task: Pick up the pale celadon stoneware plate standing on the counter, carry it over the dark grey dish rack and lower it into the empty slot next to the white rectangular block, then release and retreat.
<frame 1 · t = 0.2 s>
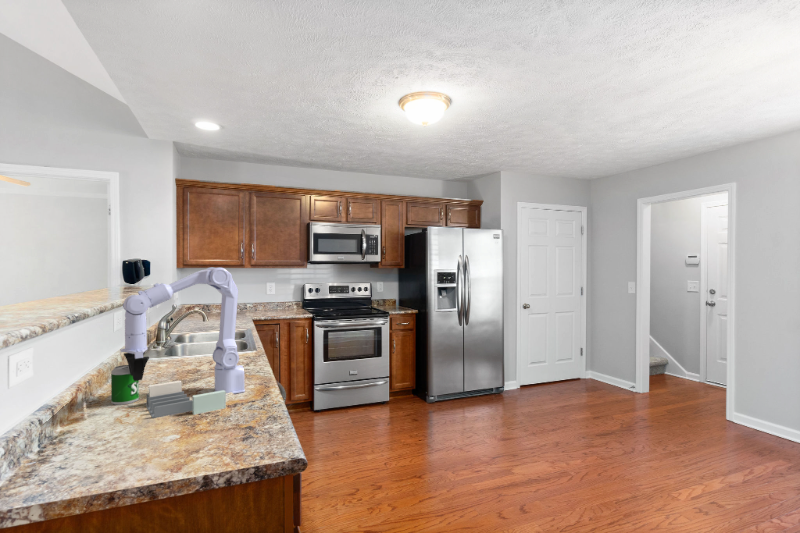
hand: (136, 377, 131), 10 cm above the worktop, fingers open, 7 cm apart
white rectangular block: (165, 402, 136), resting on dish rack
celadon plate: (209, 413, 128), on the worktop
dish rack: (169, 409, 131), on the worktop
soda can: (125, 404, 137), on the worktop
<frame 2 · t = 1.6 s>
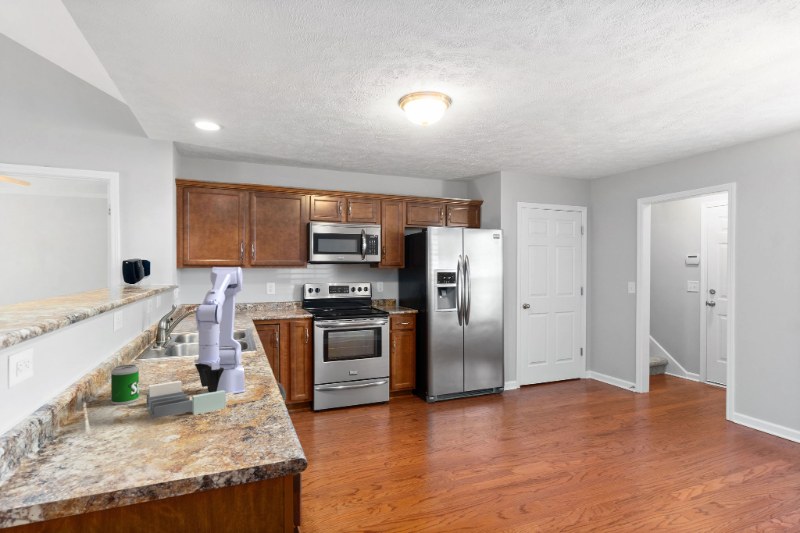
hand: (209, 389, 128), 7 cm above the worktop, fingers open, 7 cm apart
nothing on the worktop moved.
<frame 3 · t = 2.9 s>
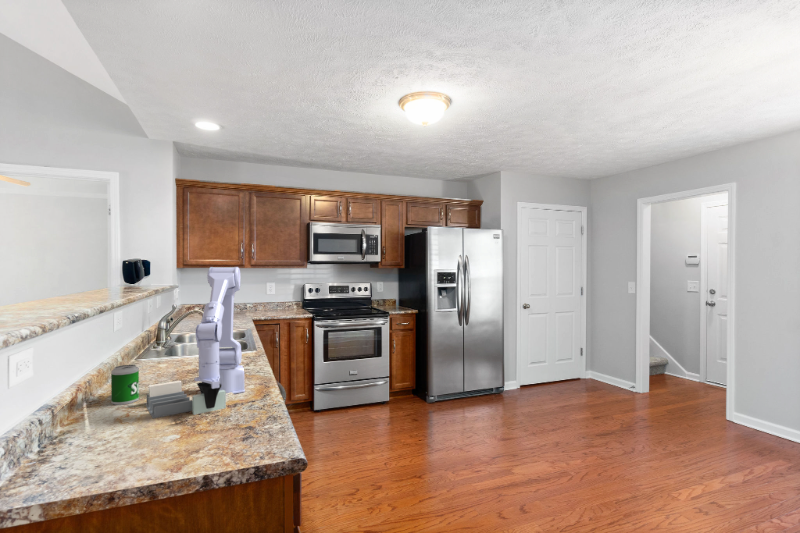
hand: (209, 406, 128), 2 cm above the worktop, fingers closed on celadon plate, 2 cm apart
celadon plate: (209, 413, 128), on the worktop, touching gripper
everything else where it was.
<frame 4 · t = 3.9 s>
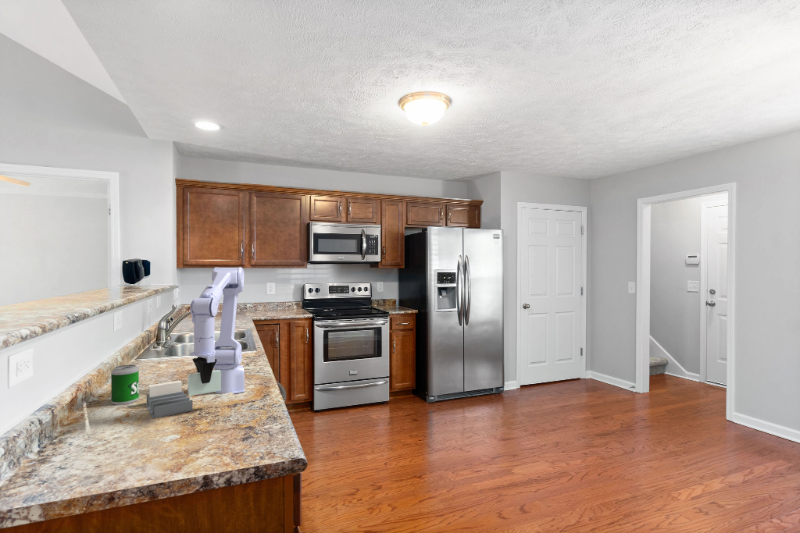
hand: (204, 381, 128), 9 cm above the worktop, fingers closed on celadon plate
celadon plate: (204, 392, 128), point 6 cm above the worktop, touching gripper
everything else where it was.
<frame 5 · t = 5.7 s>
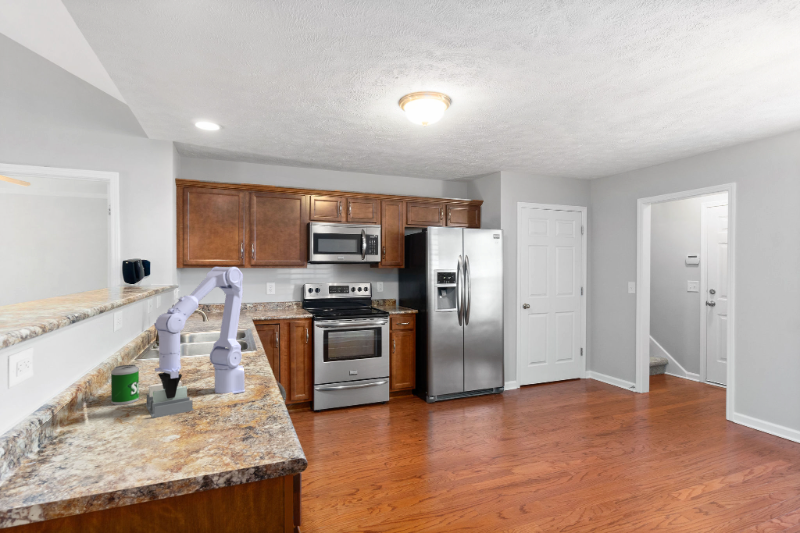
hand: (170, 396, 130), 4 cm above the worktop, fingers closed on celadon plate, 2 cm apart
celadon plate: (170, 408, 130), point 1 cm above the worktop, touching dish rack, gripper
everything else where it was.
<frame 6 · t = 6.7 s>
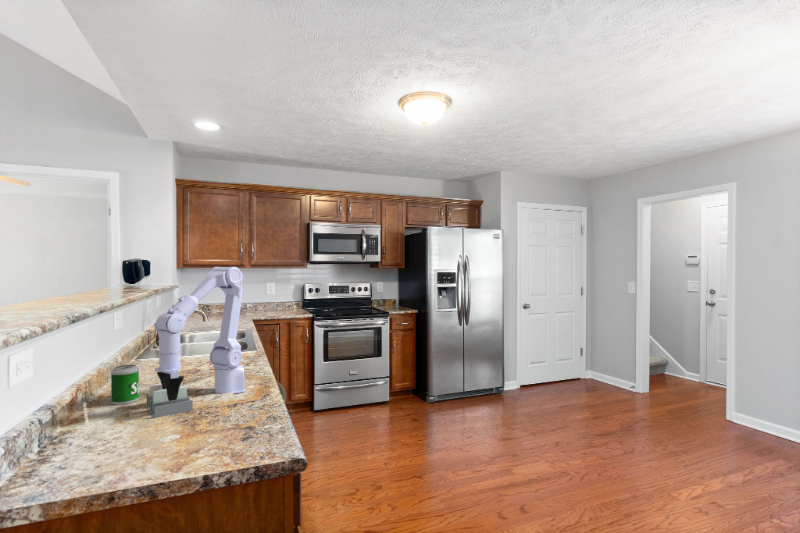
hand: (170, 396, 130), 4 cm above the worktop, fingers open, 7 cm apart
celadon plate: (170, 408, 130), point 1 cm above the worktop, touching dish rack
everything else where it was.
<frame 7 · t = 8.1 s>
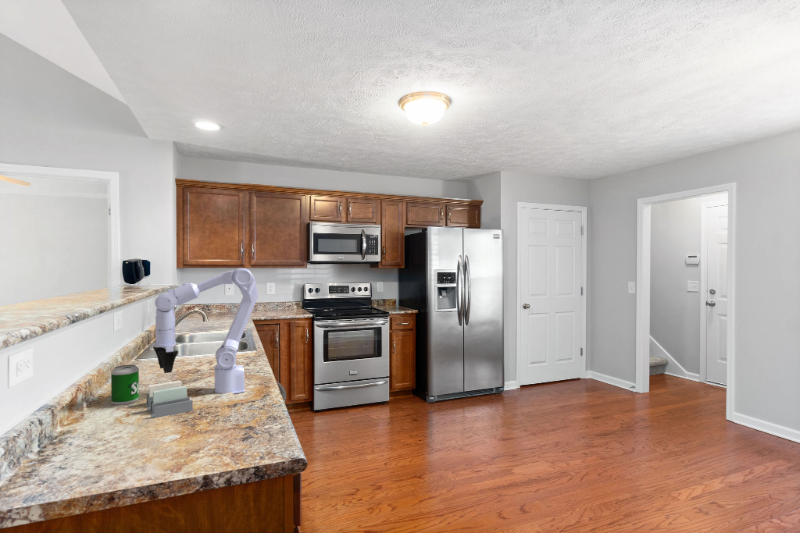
hand: (165, 370, 140), 10 cm above the worktop, fingers open, 7 cm apart
nothing on the worktop moved.
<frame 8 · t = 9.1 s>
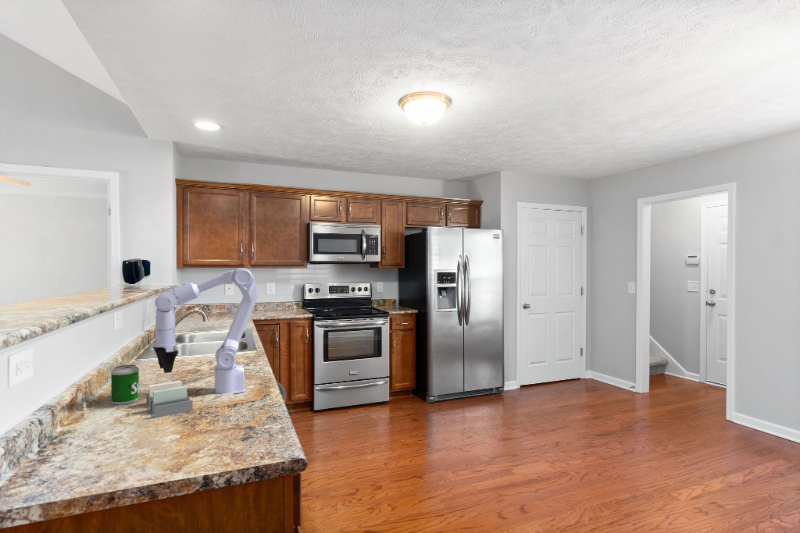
hand: (165, 370, 140), 10 cm above the worktop, fingers open, 7 cm apart
nothing on the worktop moved.
at the end: celadon plate 0.0 cm from the target spot on the dish rack, point 0.8 cm above the dish rack's base; celadon plate tilted 0°; the gripper is holding nothing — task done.
